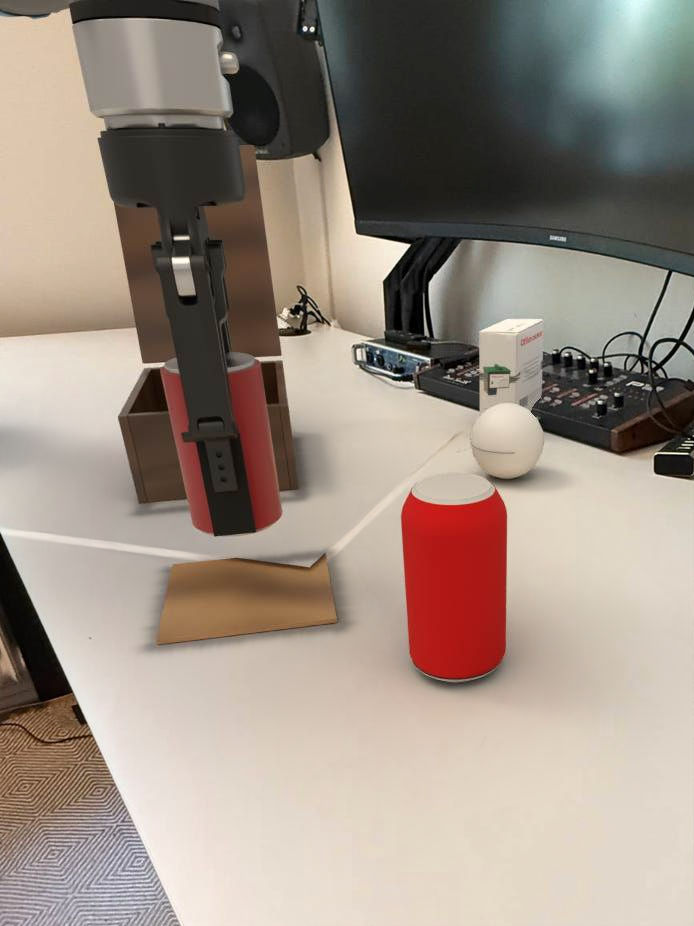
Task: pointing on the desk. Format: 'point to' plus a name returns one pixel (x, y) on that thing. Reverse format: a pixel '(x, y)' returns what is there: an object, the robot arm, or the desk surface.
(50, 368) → the desk surface
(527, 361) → the ink box
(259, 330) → the lid
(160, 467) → the chest
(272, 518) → the can
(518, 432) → the white ball
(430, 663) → the beverage can
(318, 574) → the mat
